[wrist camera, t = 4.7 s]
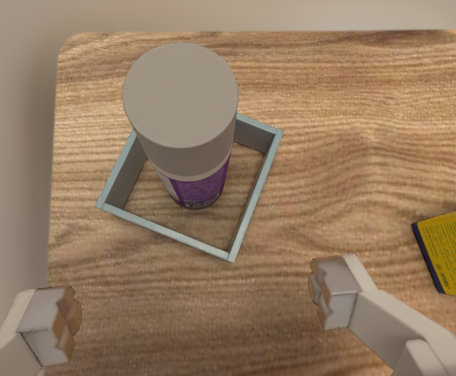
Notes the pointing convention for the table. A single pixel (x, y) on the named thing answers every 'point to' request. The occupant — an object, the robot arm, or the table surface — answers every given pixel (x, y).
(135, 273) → the table surface
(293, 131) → the table surface
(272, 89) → the table surface
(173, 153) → the container
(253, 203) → the open box
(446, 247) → the supplement box
